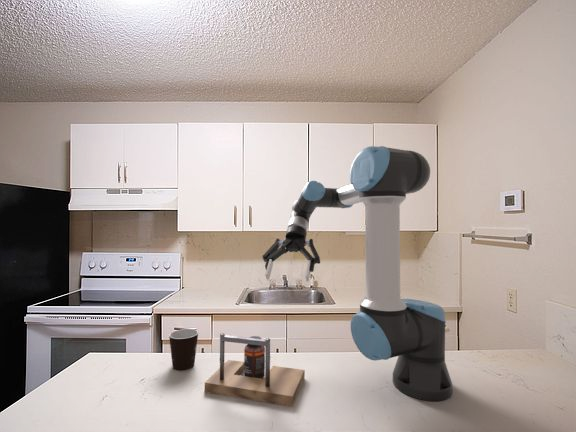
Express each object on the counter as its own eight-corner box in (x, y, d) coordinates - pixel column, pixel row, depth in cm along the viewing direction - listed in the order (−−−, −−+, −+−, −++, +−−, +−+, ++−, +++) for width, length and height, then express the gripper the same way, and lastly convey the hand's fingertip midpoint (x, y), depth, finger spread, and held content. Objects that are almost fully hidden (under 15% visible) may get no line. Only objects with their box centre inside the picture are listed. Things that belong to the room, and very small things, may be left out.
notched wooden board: (304, 378, 89) (304, 369, 89) (292, 406, 76) (292, 396, 76) (228, 367, 96) (228, 359, 96) (204, 392, 82) (204, 382, 82)
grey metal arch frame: (270, 384, 81) (270, 338, 81) (268, 387, 80) (269, 340, 80) (220, 377, 85) (221, 333, 85) (218, 379, 84) (219, 334, 84)
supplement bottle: (268, 375, 91) (268, 336, 91) (258, 385, 86) (258, 343, 86) (250, 371, 94) (251, 333, 94) (239, 380, 88) (240, 340, 89)
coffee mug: (189, 374, 92) (189, 339, 92) (162, 371, 93) (163, 337, 94) (207, 357, 103) (207, 326, 103) (183, 354, 105) (183, 324, 105)
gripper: (331, 238, 116) (325, 286, 101) (267, 237, 123) (254, 282, 108) (329, 224, 111) (323, 272, 96) (263, 224, 118) (248, 269, 103)
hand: (286, 278), depth 102 cm, fingers open, 13 cm apart
